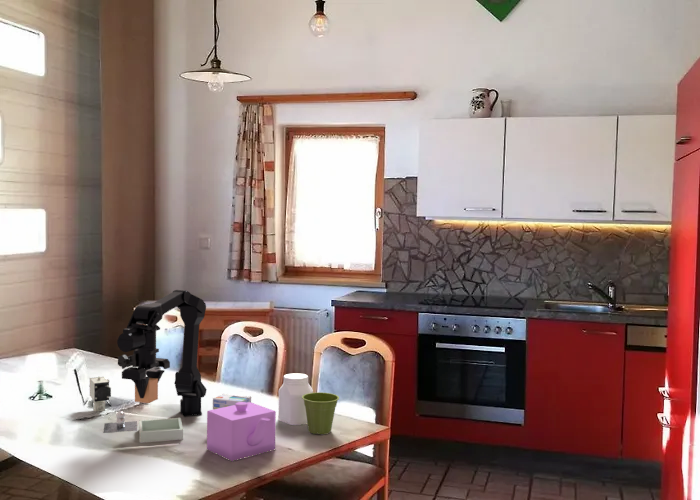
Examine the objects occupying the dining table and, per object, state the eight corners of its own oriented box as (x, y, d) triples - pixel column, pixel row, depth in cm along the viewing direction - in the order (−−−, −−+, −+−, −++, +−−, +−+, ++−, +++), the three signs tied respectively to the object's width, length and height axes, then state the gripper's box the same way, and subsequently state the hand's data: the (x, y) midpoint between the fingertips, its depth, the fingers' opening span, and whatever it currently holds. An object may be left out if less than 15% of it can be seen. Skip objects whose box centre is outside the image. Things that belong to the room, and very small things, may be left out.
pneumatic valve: (95, 416, 240) (95, 381, 239) (89, 407, 250) (88, 374, 250) (112, 414, 243) (112, 379, 242) (105, 406, 253) (105, 372, 252)
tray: (180, 428, 228) (180, 417, 228) (182, 441, 216) (183, 429, 216) (139, 431, 225) (139, 420, 225) (139, 444, 213) (139, 432, 212)
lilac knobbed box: (246, 469, 194) (246, 418, 194) (198, 445, 213) (198, 399, 212) (290, 456, 205) (290, 408, 204) (240, 435, 223) (241, 391, 222)
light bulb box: (251, 429, 229) (252, 396, 229) (241, 435, 223) (242, 401, 222) (222, 425, 233) (222, 392, 232) (211, 431, 226) (211, 397, 226)
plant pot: (325, 439, 220) (325, 403, 219) (294, 433, 226) (294, 397, 225) (345, 430, 230) (346, 395, 229) (315, 423, 236) (315, 390, 236)
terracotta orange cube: (143, 397, 225) (143, 377, 225) (157, 399, 224) (157, 378, 224) (134, 401, 221) (134, 380, 220) (149, 403, 219) (149, 382, 219)
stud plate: (136, 422, 234) (136, 406, 234) (137, 432, 224) (137, 414, 224) (104, 425, 231) (104, 408, 231) (103, 434, 221) (103, 417, 221)
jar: (317, 421, 239) (318, 377, 238) (295, 426, 232) (295, 381, 232) (295, 413, 247) (296, 371, 247) (273, 419, 241) (274, 375, 240)
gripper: (140, 339, 232) (140, 386, 233) (106, 350, 214) (106, 401, 215) (170, 341, 229) (170, 389, 230) (138, 352, 211) (138, 404, 212)
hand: (146, 395), depth 222 cm, fingers closed on terracotta orange cube, 5 cm apart
